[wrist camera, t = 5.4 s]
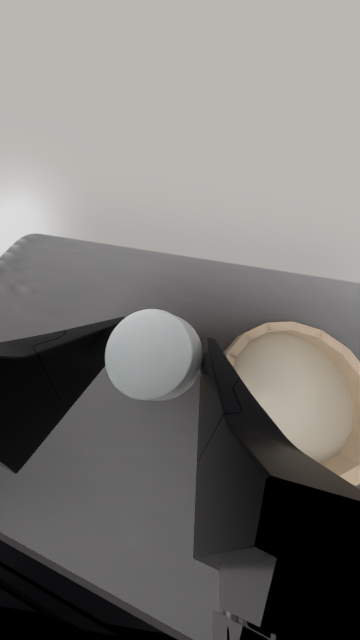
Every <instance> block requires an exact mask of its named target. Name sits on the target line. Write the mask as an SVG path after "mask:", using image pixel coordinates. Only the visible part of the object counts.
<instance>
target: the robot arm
mask: <svg viewBox="0 0 360 640" xmlns="http://www.w3.org/2000/svg"><path fill="white" fill-rule="evenodd" d="M124 318H126V317H120V318H116V319H112V320H107V321H103V322H98V323H94V324H89V325H85V326H81V327H76V328H72V329H68V330H63V331H58V332H54V333H49V334H44V335H39V336H33V337H28V338H22V339H17V340H11V341H6V342H0V467H2V468H4V469H7V470H9V471H11V472H13V473H15V474H16V473H17V472H18V471H19V470H20V469H21V468H22V467H23V466H24V464H25V463H26V462H27V461H28V459H29V458H30V457H31V456H32V455H33V453H34V452H35V451H36V450H37V448H38V447H39V446H40V445H41V444H42V442H43V441H44V440H45V439H46V437H47V436H48V435H49V434H50V433H51V431H52V430H53V429H54V428H55V426H56V425H57V424H58V423H59V422H60V420H61V419H62V418H63V417H64V415H65V414H66V413H67V412H68V410H69V409H70V408H71V407H72V405H73V404H74V403H75V402H76V401H77V399H78V398H79V397H80V396H81V394H82V393H83V392H84V391H85V390H86V388H87V387H88V386H89V385H90V383H91V382H92V381H93V380H94V379H95V377H96V376H97V375H98V374H99V372H100V371H101V370H102V369H103V368H104V366H105V350H106V346H107V342H108V339H109V337H110V335H111V333H112V332H113V330H114V329H115V327H116V326H117V325H118V324H119V323H120V322H121V321H122V320H123V319H124ZM193 558H194V559H196V560H198V561H200V562H202V563H204V564H206V565H209V566H211V567H213V568H215V569H217V570H219V571H220V613H218V612H217V611H215V610H214V612H213V640H360V489H359V488H357V487H355V486H354V485H352V484H351V483H349V482H348V481H346V480H345V479H343V478H342V477H340V476H339V475H337V474H335V473H334V472H332V471H331V470H329V469H328V468H326V467H325V466H323V465H322V464H320V463H318V462H317V461H315V460H314V459H312V458H311V457H309V456H308V455H306V454H305V453H303V452H302V451H301V450H299V449H298V448H297V447H296V446H295V445H294V444H293V443H292V442H291V441H290V440H289V439H288V438H287V437H286V436H285V435H284V434H283V433H282V431H281V430H280V429H279V428H278V426H277V425H276V424H275V423H274V421H273V420H272V419H271V418H270V416H269V415H268V414H267V413H266V411H265V410H264V409H263V408H262V407H261V405H260V404H259V403H258V401H257V400H256V399H255V398H254V396H253V395H252V394H251V392H250V391H249V389H248V388H247V387H246V385H245V384H244V382H243V381H242V379H241V378H240V376H239V375H238V373H237V372H236V370H235V369H234V367H233V366H232V365H231V363H230V362H229V360H228V359H227V357H226V356H225V354H224V353H223V351H222V350H221V348H220V347H219V345H218V344H217V342H216V341H215V339H212V338H208V339H207V343H206V346H205V350H204V355H203V361H202V367H201V376H200V401H199V426H198V451H197V474H196V500H195V525H194V551H193ZM0 640H193V639H191V638H189V637H187V636H186V635H184V634H182V633H180V632H178V631H177V630H175V629H173V628H171V627H169V626H168V625H166V624H164V623H162V622H160V621H159V620H157V619H155V618H153V617H151V616H150V615H148V614H146V613H144V612H142V611H141V610H139V609H137V608H135V607H133V606H132V605H130V604H128V603H126V602H124V601H123V600H121V599H119V598H117V597H116V596H114V595H112V594H110V593H108V592H107V591H105V590H103V589H101V588H99V587H98V586H96V585H94V584H92V583H90V582H89V581H87V580H85V579H83V578H81V577H80V576H78V575H76V574H74V573H72V572H71V571H69V570H67V569H65V568H63V567H62V566H60V565H58V564H56V563H54V562H53V561H51V560H49V559H47V558H45V557H44V556H42V555H40V554H38V553H36V552H35V551H33V550H31V549H29V548H27V547H26V546H24V545H22V544H20V543H18V542H17V541H15V540H13V539H11V538H9V537H8V536H6V535H4V534H2V533H0Z"/></svg>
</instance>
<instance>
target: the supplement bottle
mask: <svg viewBox="0 0 360 640" xmlns="http://www.w3.org/2000/svg"><path fill="white" fill-rule="evenodd" d="M202 361H203V350H202V345H201V341H200V339H199V336H198V334H197V333H196V331H195V330H194V329H193V327H192V326H191V325H190V324H189V323H187V322H186V321H185V320H183V319H181V318H179V317H177V316H174V315H172V314H171V313H169V312H166V311H163V310H158V309H146V310H141V311H138V312H135V313H133V314H131V315H129V316H127V317H126V318H124V319H123V320H122V321H121V322H120V323H119V324H118V325H117V326H116V327H115V329H114V330H113V332H112V333H111V335H110V337H109V339H108V342H107V346H106V350H105V366H106V370H107V373H108V376H109V378H110V380H111V382H112V383H113V385H114V386H115V387H116V388H117V389H118V390H119V391H120V392H122V393H123V394H124V395H126V396H128V397H130V398H133V399H137V400H144V401H145V400H155V401H163V400H169V399H172V398H175V397H177V396H179V395H181V394H183V393H184V392H185V391H187V390H188V389H189V388H190V387H191V386H192V385H193V383H194V382H195V380H196V379H197V377H198V375H199V372H200V370H201V366H202Z"/></svg>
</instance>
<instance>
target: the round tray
mask: <svg viewBox="0 0 360 640" xmlns="http://www.w3.org/2000/svg"><path fill="white" fill-rule="evenodd" d="M223 353H224V354H225V356H226V357H227V359H228V360H229V362H230V363H231V365H232V366H233V367H234V369H235V370H236V372H237V373H238V375H239V376H240V378H241V379H242V381H243V382H244V384H245V385H246V387H247V388H248V389H249V391H250V392H251V394H252V395H253V396H254V398H255V399H256V400H257V401H258V403H259V404H260V405H261V407H262V408H263V409H264V410H265V411H266V413H267V414H268V415H269V416H270V418H271V419H272V420H273V421H274V423H275V424H276V425H277V426H278V428H279V429H280V430H281V431H282V433H283V434H284V435H285V436H286V437H287V438H288V439H289V440H290V441H291V442H292V443H293V444H294V445H295V446H296V447H297V448H298V449H299V450H301V451H302V452H303V453H305V454H306V455H308V456H309V457H311V458H312V459H314V460H315V461H317V462H318V463H320V464H322V465H323V466H325V467H326V468H328V469H329V470H331V471H332V472H334V473H335V474H337V475H339V476H340V477H342V478H343V479H345V480H346V481H348V482H349V483H351V484H352V485H354V486H356V485H358V484H360V362H359V360H358V359H357V358H356V357H355V355H354V354H353V353H352V352H351V351H350V349H348V348H347V347H345V346H344V345H343V344H341V343H340V342H338V341H337V340H335V339H334V338H332V337H331V336H329V335H328V334H327V333H325V332H324V331H322V330H319V329H316V328H313V327H309V326H306V325H303V324H300V323H297V322H269V323H265V324H263V325H260V326H258V327H256V328H254V329H252V330H250V331H247V332H245V333H243V334H241V335H239V336H237V337H236V338H235V340H234V341H233V342H232V343H231V344H230V345H229V347H228V348H227V349H226V350H225V351H224V352H223Z"/></svg>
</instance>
